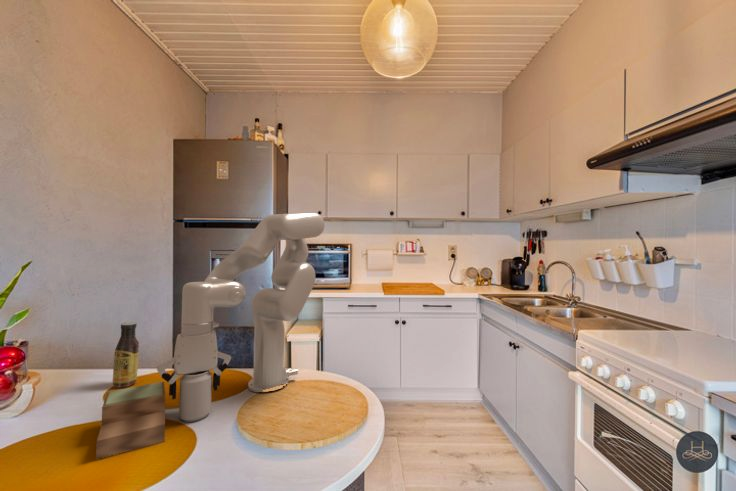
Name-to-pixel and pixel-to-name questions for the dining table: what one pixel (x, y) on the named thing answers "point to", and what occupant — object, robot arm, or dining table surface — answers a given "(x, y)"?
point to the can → (195, 396)
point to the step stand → (132, 419)
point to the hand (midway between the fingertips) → (195, 393)
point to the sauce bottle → (126, 357)
